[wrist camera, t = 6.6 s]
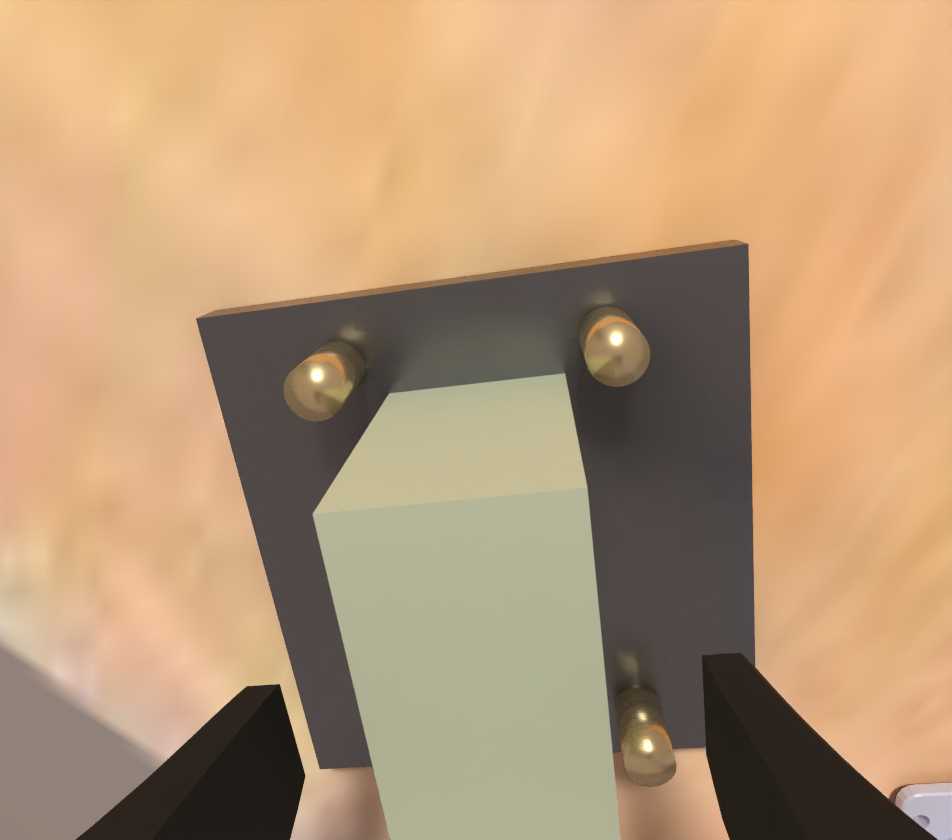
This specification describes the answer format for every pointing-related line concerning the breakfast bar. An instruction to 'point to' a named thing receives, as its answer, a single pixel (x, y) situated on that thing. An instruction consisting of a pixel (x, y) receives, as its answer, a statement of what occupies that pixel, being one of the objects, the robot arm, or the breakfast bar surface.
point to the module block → (474, 614)
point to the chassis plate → (600, 440)
